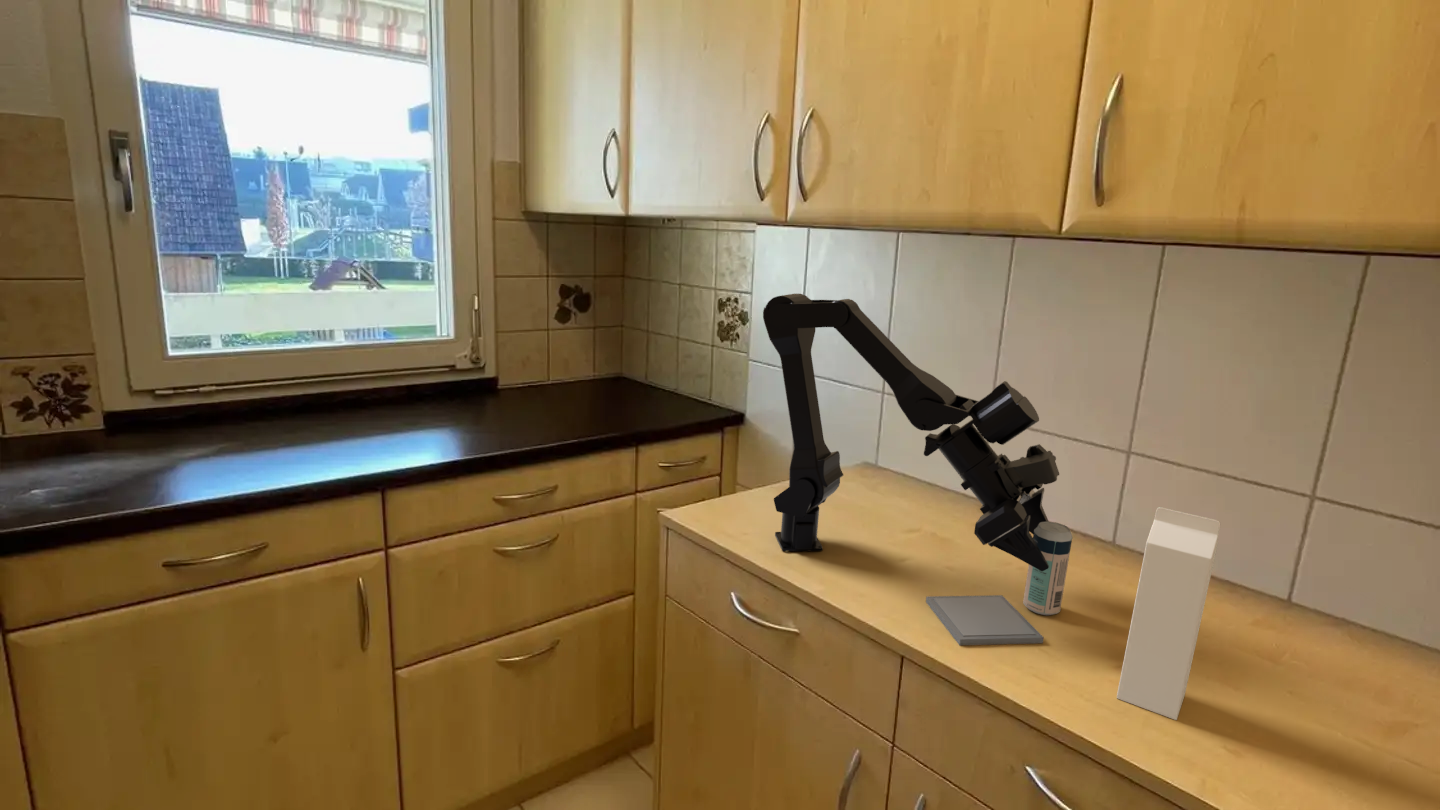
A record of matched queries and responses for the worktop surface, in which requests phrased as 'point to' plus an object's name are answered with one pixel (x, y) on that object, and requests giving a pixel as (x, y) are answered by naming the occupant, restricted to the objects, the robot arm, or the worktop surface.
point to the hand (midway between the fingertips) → (1050, 556)
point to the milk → (1168, 611)
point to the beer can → (1048, 584)
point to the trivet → (983, 620)
